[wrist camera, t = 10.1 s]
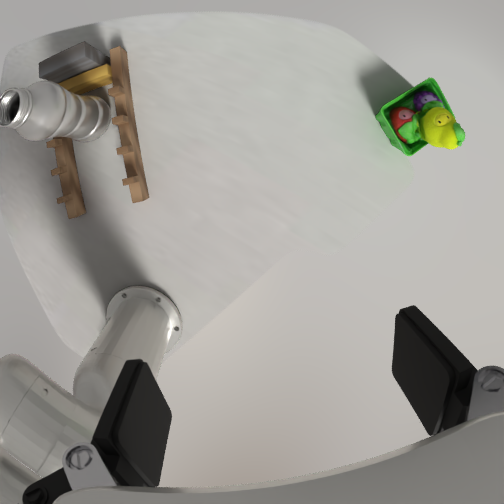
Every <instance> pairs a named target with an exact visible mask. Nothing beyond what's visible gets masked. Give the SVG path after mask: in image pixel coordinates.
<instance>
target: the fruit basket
mask: <svg viewBox="0 0 504 504" xmlns="http://www.w3.org/2000/svg"><path fill="white" fill-rule="evenodd" d="M376 119H377V120H378V121H379V122H380V125H381V127H382V129H383V130H384V132H385V134H386V136H387V137H388V138H389V139H390V142H391V144H392V145H393V146H394V147H396V148H398V149H399V150H401V151H402V152H403V153H404V154H405V155H407V156H412V155H413V154H415V153H416V152H417V151H419V150H420V149H421V148H423V147H424V146H426V145H427V144H428V143H429V144H431V145H433V146H435V147H445V148H447V149H455V148H457V147H458V146H461V144H462V142H463V141H464V139H465V132H464V130H463V129H462V128H461V126H460V124H458V123H457V122H456V120H455V116H454V114H453V112H452V110H451V108H450V106H449V104H448V102H447V100H446V99H445V96H444V95H443V93H442V91H441V89H440V87H439V85H438V84H437V82H436V81H435V80H434V79H433V78H428V79H427V80H425V81H423V82H422V83H420V84H418V85H417V86H415V87H413V88H411V89H410V90H408V91H406V92H405V93H403V94H401V95H400V96H398V97H397V98H395V99H393V100H392V101H390V102H388V103H387V104H385V105H383V106H382V108H381V110H380V112H379V113H378V114H377V115H376Z"/></svg>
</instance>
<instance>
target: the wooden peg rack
mask: <svg viewBox="0 0 504 504" xmlns="http://www.w3.org/2000/svg"><path fill="white" fill-rule="evenodd" d="M39 78H42V79H46V80H48V81H53V82H55V83H57V84H59V85H60V86H62V87H63V88H64V89H66V90H67V91H69V92H72V93H74V94H76V95H81V94H84V93H86V92H89V91H91V90H94V89H97V88H100V87H102V86H105V85H108V84H111V83H113V88H110V89H108V93H109V95H110V96H113V97H114V98H115V106H116V113H117V117H114V118H112V124H114V125H118V127H119V133H120V139H121V145H122V147H120V148H116V149H117V155H120V154H123V157H124V162H125V168H126V173H127V178H126V179H122V181H123V186H124V185H128V184H129V188H130V193H131V197H132V202H133V203H136V202H140V201H144V200H146V199H148V198H149V194H148V189H147V184H146V179H145V174H144V168H143V163H142V158H141V152H140V146H139V140H138V134H137V128H136V122H135V115H134V108H133V101H132V94H131V86H130V77H129V69H128V59H127V52H126V51H125V50H124V49H123V48H121V47H120V46H119V47H116V48H113V49H110V58H109V57H107V56H106V55H104V54H103V53H101V52H100V51H98V50H97V49H95V48H94V47H92V46H91V45H89V44H88V43H86V42H85V41H84V42H82V43H80V44H77V45H75V46H73V47H71V48H68V49H66V50H64V51H62V52H60V53H58V54H56V55H54V56H52V57H50V58H48V59H46V60H44V61H42V62H40V63H39ZM46 143H47V148H55V154H56V160H57V166H58V168H55V169H53V170H51V174H52V176H54V175H59V177H60V182H61V187H62V192H63V197H59V198H56V199H57V203H58V204H60V203H63V202H65V205H66V209H67V214H68V218H69V219H72V218H75V217H78V216H80V215H82V214H85V213H86V210H85V206H84V201H83V197H82V192H81V188H80V183H79V178H78V172H77V167H76V161H75V156H74V150H73V143H72V139H71V138H68V137H53V140H51V141H48V142H46Z"/></svg>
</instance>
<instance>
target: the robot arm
mask: <svg viewBox="0 0 504 504" xmlns="http://www.w3.org/2000/svg"><path fill="white" fill-rule="evenodd" d="M158 297H159V298H158ZM176 326H177V327H176ZM181 333H182V320H181V316H180V313H179V311H178V309H177V308H176V306H175V305H174V304H173V302H172V301H171V300H170V299H169V298H168V297H167V296H165V295H164V294H162V293H161V292H159V291H157V290H155V289H152V288H149V287H145V286H131V287H127V288H124V289H122V290H121V291H119V292H118V293H117V294H116V295H114V297H113V298H112V299H111V301H110V303H109V305H108V308H107V324H106V326H105V327H104V329H103V330H102V332H101V333H100V335H99V336H98V338H97V339H96V341H95V342H94V344H93V345H92V347H91V348H90V350H89V351H88V353H87V355H86V356H85V358H84V359H83V361H82V362H81V364H80V365H79V367H78V369H77V371H76V373H75V377H74V382H73V395H71V394H70V393H69V392H67V391H66V390H65V389H63V388H62V387H61V386H59V385H58V384H57V383H56V382H55V381H53V380H52V379H51V378H49V377H48V376H47V375H46V374H45V373H44V372H42V371H41V370H40V369H39V368H38V367H36V366H35V365H34V364H33V363H31V362H30V361H29V360H27V359H26V358H24V357H22V356H20V355H17V354H9V355H6V356H4V357H2V358H1V359H0V504H504V369H503V368H501V367H498V366H486V367H483V368H481V369H479V370H477V369H476V368H475V367H474V366H473V365H472V364H471V363H470V362H469V360H468V359H467V358H466V357H465V356H464V355H463V354H462V353H461V352H460V351H459V350H458V349H457V348H456V347H455V346H454V344H453V343H452V342H451V341H450V340H449V339H448V338H447V337H446V336H445V335H444V334H443V333H442V332H441V331H440V330H439V329H438V328H437V327H436V326H435V325H434V324H433V323H432V322H431V321H430V320H429V319H428V318H427V317H426V316H425V315H424V314H423V313H422V312H421V311H420V310H419V309H418V308H417V307H416V306H414V305H413V306H409V307H406V308H403V309H400V311H399V314H397V315H396V318H395V335H394V350H393V361H392V373H393V376H394V378H395V379H396V381H397V382H398V384H399V386H400V387H401V389H402V391H403V392H404V394H405V396H406V397H407V399H408V401H409V402H410V404H411V405H412V407H413V409H414V411H415V412H416V414H417V416H418V417H419V419H420V421H421V422H422V424H423V426H424V427H425V429H426V431H427V433H428V434H429V435H430V436H431V437H429V438H426V439H424V440H421V441H419V442H416V443H414V444H411V445H408V446H406V447H403V448H400V449H397V450H395V451H392V452H389V453H386V454H383V455H380V456H377V457H374V458H371V459H367V460H364V461H361V462H357V463H354V464H350V465H347V466H343V467H339V468H335V469H331V470H327V471H322V472H318V473H313V474H309V475H304V476H298V477H293V478H287V479H281V480H274V481H267V482H260V483H251V484H242V485H232V486H216V487H190V488H188V487H187V488H186V487H185V488H177V487H176V488H168V487H164V488H163V487H157V486H158V485H159V482H160V476H161V470H162V466H163V460H164V454H165V450H166V444H167V439H168V434H169V429H170V424H171V418H172V414H171V410H170V408H169V406H168V404H167V402H166V400H165V399H164V396H163V394H162V392H161V390H160V388H159V386H158V384H157V382H156V380H157V377H158V373H159V370H160V367H161V364H162V361H163V358H164V354H165V353H167V352H169V351H170V350H172V349H173V348H174V347H175V346H176V345H177V343H178V341H179V340H180V337H181ZM432 435H433V436H432ZM9 453H10V454H11V455H12V456H14V457H15V458H16V459H18V460H19V461H20V462H22V463H23V464H25V465H26V466H27V467H29V468H30V469H32V470H33V471H35V473H34V472H33V471H31V470H30V469H29V468H27V467H26V466H24V465H23V464H22V463H20V462H19V461H18V460H16V459H15V458H14V457H12V456H11V455H10V454H9ZM36 473H37V474H38V475H37V474H36ZM39 475H40V476H41V477H40V476H39ZM42 477H43V478H42Z"/></svg>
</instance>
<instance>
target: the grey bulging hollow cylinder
mask: <svg viewBox="0 0 504 504" xmlns="http://www.w3.org/2000/svg"><path fill="white" fill-rule="evenodd" d="M110 120H111V111H110V108H109V106H108V104H107V103H106V102H105V101H104V100H103V99H102V98H100V97H98V96H90V95H87V96H82V95H76V94H74V93H72V92H69V91H67V90H66V89H64V88H63V87H62V86H60V85H59V84H57V83H55V82H53V81H40V82H36V83H34V84H32V85H30V86H29V87H28V88H26V89H25V88H19V89H18V88H10V89H8V90H6V91H5V92H4V93H3V94H2V95H1V96H0V127H4V128H12V129H16V131H17V132H18V134H19V135H20V136H21V137H23V138H25V139H27V140H29V141H40V140H45V139H49V138H53V137H68V138H71V139H73V140H76V141H79V142H89V141H92V140H95V139H97V138H99V137H100V136H102V135H103V134H104V132H105V131H106V130H107V128H108V126H109V124H110Z"/></svg>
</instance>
